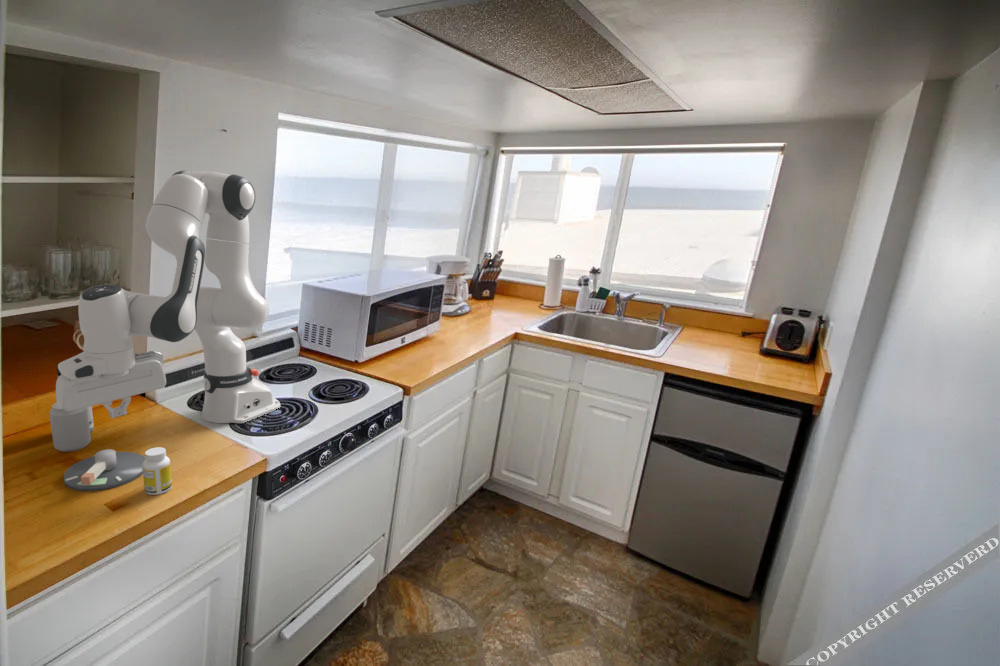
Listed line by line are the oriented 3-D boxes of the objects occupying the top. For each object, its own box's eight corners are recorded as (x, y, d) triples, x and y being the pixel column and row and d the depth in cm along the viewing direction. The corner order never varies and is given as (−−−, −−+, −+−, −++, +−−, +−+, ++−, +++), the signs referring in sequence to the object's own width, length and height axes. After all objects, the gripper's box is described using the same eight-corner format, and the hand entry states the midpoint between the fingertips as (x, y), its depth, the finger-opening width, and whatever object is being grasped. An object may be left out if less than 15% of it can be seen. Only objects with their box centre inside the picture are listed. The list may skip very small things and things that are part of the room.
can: (70, 455, 131) (65, 411, 128) (46, 449, 133) (40, 406, 130) (98, 442, 139) (94, 400, 135) (75, 437, 140) (70, 395, 137)
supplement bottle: (171, 480, 126) (169, 443, 123) (172, 492, 121) (169, 454, 119) (144, 485, 123) (141, 447, 120) (144, 497, 118) (140, 459, 116)
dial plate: (131, 449, 137) (130, 444, 137) (159, 472, 128) (158, 467, 128) (53, 472, 124) (53, 467, 124) (79, 499, 116) (78, 494, 115)
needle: (101, 462, 127) (100, 449, 126) (120, 462, 128) (118, 449, 127) (76, 487, 117) (74, 473, 116) (96, 487, 118) (94, 473, 117)
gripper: (156, 345, 126) (161, 398, 130) (48, 366, 110) (58, 425, 114) (168, 352, 122) (173, 406, 126) (58, 375, 106) (69, 435, 110)
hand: (118, 415), depth 120 cm, fingers closed
